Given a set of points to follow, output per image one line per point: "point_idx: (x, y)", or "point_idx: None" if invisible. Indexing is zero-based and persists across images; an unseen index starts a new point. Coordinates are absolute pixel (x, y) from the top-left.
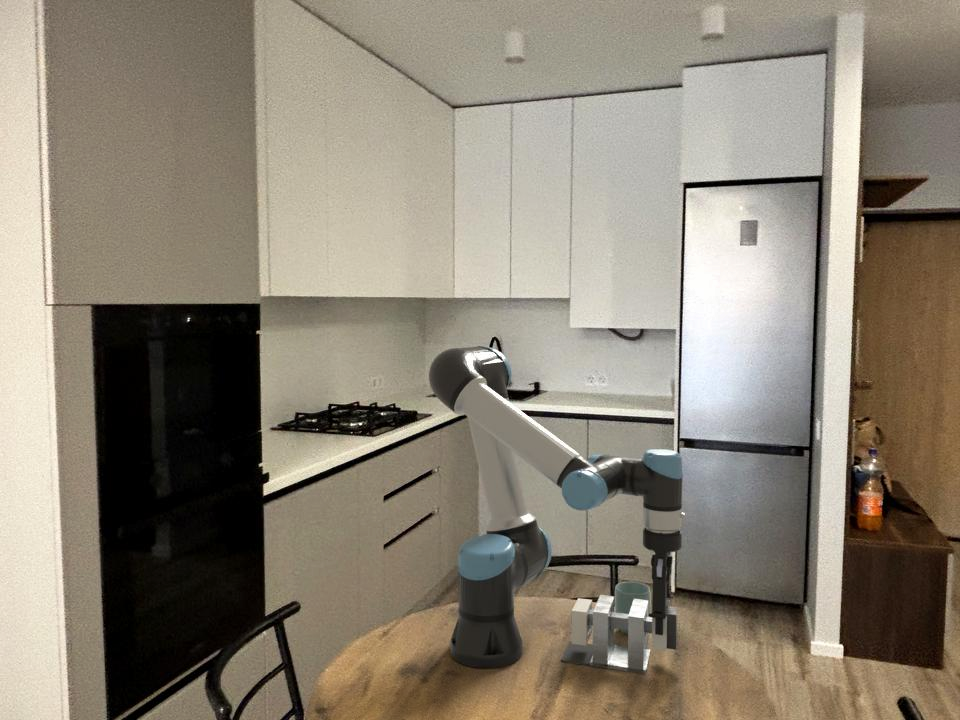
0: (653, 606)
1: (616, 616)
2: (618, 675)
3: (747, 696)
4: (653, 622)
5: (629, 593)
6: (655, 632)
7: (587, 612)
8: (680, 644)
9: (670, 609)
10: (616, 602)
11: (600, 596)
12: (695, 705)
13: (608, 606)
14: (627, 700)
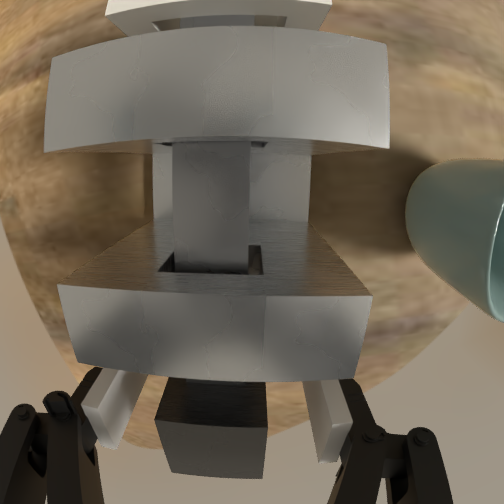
0: (2, 442)
1: (185, 180)
2: (127, 193)
3: (159, 437)
4: (94, 388)
5: (494, 239)
6: (88, 372)
7: (146, 13)
8: (372, 340)
9: (224, 464)
10: (480, 164)
11: (356, 43)
12: (81, 363)
13: (156, 121)
14: (34, 235)
